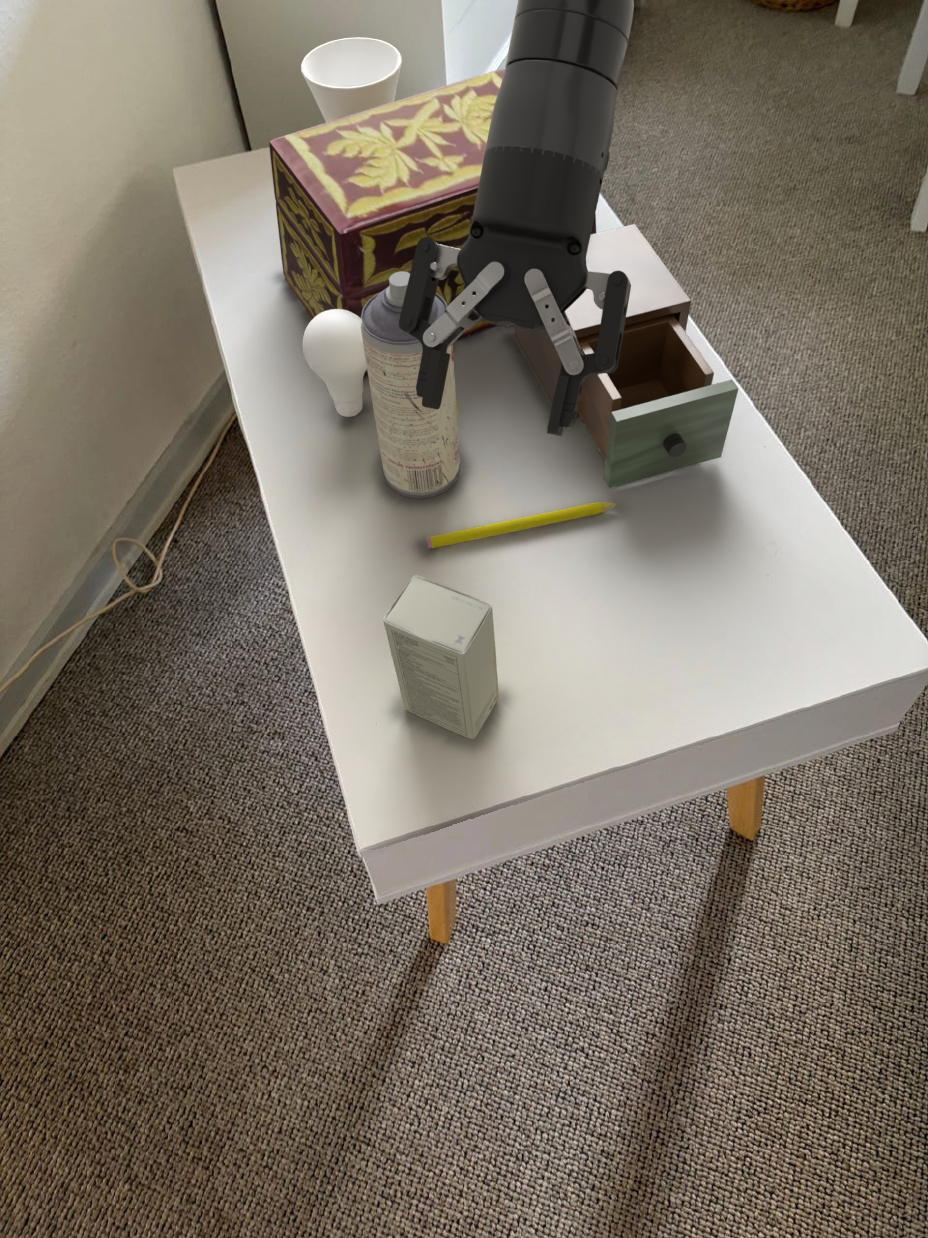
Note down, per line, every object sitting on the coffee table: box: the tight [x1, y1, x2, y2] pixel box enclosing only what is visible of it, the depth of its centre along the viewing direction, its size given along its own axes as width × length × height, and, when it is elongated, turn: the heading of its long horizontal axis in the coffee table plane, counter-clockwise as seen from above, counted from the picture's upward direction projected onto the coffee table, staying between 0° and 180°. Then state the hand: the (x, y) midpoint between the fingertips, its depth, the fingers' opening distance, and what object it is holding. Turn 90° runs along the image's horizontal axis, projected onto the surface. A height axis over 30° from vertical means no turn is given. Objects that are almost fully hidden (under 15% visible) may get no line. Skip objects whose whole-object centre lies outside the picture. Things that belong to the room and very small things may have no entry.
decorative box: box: [268, 68, 597, 376], centre depth 95 cm, size 28×19×15 cm
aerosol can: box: [361, 271, 461, 499], centre depth 79 cm, size 7×7×20 cm
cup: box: [300, 37, 403, 123], centre depth 107 cm, size 10×10×14 cm
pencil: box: [425, 501, 617, 550], centre depth 82 cm, size 16×1×1 cm, turn 103°
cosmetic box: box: [382, 574, 500, 741], centre depth 69 cm, size 6×4×12 cm
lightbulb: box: [302, 309, 367, 418], centre depth 87 cm, size 6×6×11 cm
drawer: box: [577, 314, 739, 490], centre depth 84 cm, size 12×11×8 cm
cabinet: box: [513, 223, 692, 415], centre depth 90 cm, size 12×12×10 cm
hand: (491, 421), depth 64 cm, fingers open, 8 cm apart
